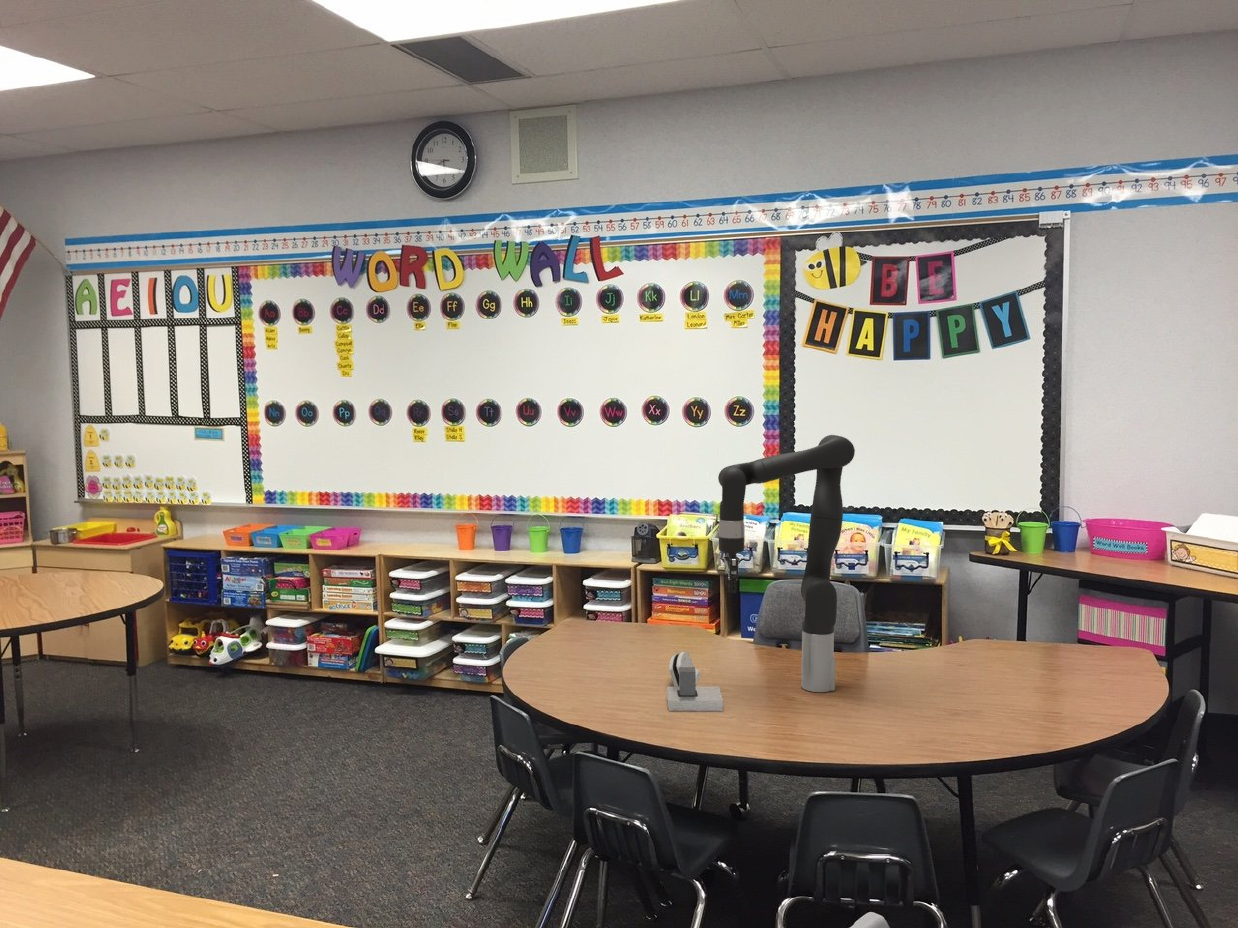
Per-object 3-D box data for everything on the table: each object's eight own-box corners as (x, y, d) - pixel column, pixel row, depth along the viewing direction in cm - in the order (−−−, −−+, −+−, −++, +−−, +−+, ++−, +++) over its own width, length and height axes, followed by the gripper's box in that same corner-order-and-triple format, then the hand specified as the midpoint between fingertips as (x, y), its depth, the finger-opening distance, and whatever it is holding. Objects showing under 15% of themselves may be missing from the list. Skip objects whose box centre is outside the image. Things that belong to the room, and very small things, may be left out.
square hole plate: (718, 696, 273) (718, 686, 273) (723, 710, 261) (723, 700, 261) (667, 696, 273) (667, 686, 273) (668, 710, 261) (668, 700, 261)
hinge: (692, 692, 277) (681, 660, 277) (677, 696, 278) (666, 664, 278) (701, 675, 293) (690, 644, 293) (687, 679, 294) (676, 648, 294)
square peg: (694, 701, 269) (694, 667, 268) (695, 706, 265) (695, 671, 264) (679, 701, 269) (679, 666, 268) (679, 706, 265) (679, 671, 264)
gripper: (747, 539, 268) (747, 595, 269) (741, 531, 282) (741, 584, 283) (721, 539, 268) (720, 595, 269) (716, 531, 282) (716, 584, 283)
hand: (731, 589), depth 276 cm, fingers open, 8 cm apart
